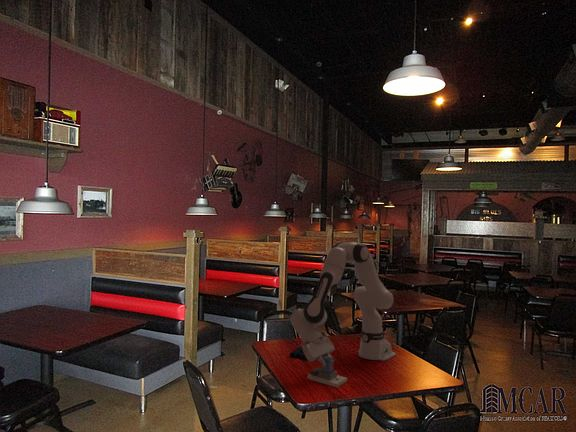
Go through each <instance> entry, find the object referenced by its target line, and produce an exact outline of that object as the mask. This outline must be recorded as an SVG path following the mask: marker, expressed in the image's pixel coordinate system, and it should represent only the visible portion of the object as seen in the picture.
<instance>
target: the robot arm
mask: <svg viewBox="0 0 576 432" xmlns="http://www.w3.org/2000/svg"><path fill="white" fill-rule="evenodd" d="M348 263H349V264H351V263H353V265H354V270H355V273H356V277H357V281H358V282H359V284H361V285H362V286H357V287H356V288H355V289H354V291H353V296H352V297H353V300H354V301H355V302H356V304H357V305H358V307H359V310H360V314H361V319H362V321H361V323H362V325H361V326H362V327H361V328H362V329H361V339H360V344H359V349H358V356H359V357H360V358H363V359H366V360H371V361H387V360H389V359H391V358H393V357H395V356H396V355H397V353H396V352H394V351H393V349H392V344H391V342H389V341H388V339H386V338H385V337H386V336H387V335H388V332H387V331H383V317H382V315H380V314H379V312H378V311H377V309H379V310H387V309H390V308H392V306H393V304H394V301H395V300H394V296H393V295H394V294H393V293H392V292H391V291H390V290H389V289H387V288H386V286H385V285H384V284H383V282H381V280H380V278H379V276H378V272H377V268H376V266H375V262H374V257H373V256H372V254H371V252H370V249H369V247H368V246H367V245H366V244H364V243H361V242H351V241H349V242H337V243H335V244H334V245H333V246H332V248H331V249H330V250H329V251H328V254H327V256H326V258H325V259H324V262H323V265H322V267H321V270H320V271H321V272H320V275H319V279H318V282H317V285H316V288H315V289H314V293H313V295H312V297H311V299H310V300H309V301H308V302H307V303H306V305H305V306H304V307H303V308H297V309H296V310H294V311H293V312H292V313H291V315H290V317H289V321H290V324H291V325H292V327H293V329H294V331H295V332H296V333H297V334H298V335H299V337H300V339H301V341H302V343H301V346H300V347H302V349H303V352H304V354H305V356H306V358H307V360H308V361H307V360H306V361H307V362H309V363H311V362H313V361H316V360H317V361H318V362H319V363H320V364H321V365H322V364H323V366H326V365H327V364H328V363H327V362H326V361H324V360H323V359H322V357H324V356H328V355H331V354H332V353H333V352H334V351H335V346H334V343H333V342H332V341H331V340H330V338H329V337H328V336H327V333H326V332H325V331H324V332H323V331H319V330H317V329H316V328H318V327H320V326H322V325H323V324H325V323H326V322H327V319H328V313H327V310H326V309H325V302H326V299H327V297H328V294H329V292H330V289H331V288H332V287H333V286H334V285H337V284H338V283H339V282H340V280H341V279H342V277H343V274H344V272H345V269H346V264H348Z"/></svg>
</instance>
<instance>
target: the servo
mask: <svg viewBox="0 0 576 432" xmlns="http://www.w3.org/2000/svg"><path fill="white" fill-rule="evenodd" d="M322 359H323V360H324V361H326V362H327V363H328V364H327V365H326V366H323V364H322V363H321V368H322V372H324V373H328V374H331V373H333V370H334V363H335V359H334V357H333V356H332V355H331V354H330V355H328V356H323V357H322Z"/></svg>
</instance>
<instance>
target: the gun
mask: <svg viewBox="0 0 576 432" xmlns="http://www.w3.org/2000/svg"><path fill="white" fill-rule="evenodd" d="M289 354H290V355H289V356H290V358H297V359H300V360H304V361H307V362H309V361H308V360H307V358H306V356H305V354H304V352H303V349H302V347H301V346H298V347H296V348H295V349H294V350H293V351H292V352H290V353H289Z"/></svg>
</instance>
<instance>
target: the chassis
mask: <svg viewBox="0 0 576 432" xmlns="http://www.w3.org/2000/svg"><path fill="white" fill-rule="evenodd" d="M306 378H307V380H311V381H314V382H317V383H321V384H324V385H328V386H330V387H334V388H338V387H341V386H342V385H343V384H344V383H347V382H348V377H345V376H342V375H339V374H338V371H337V370H334V369H333V373H331V374H328V373H324V372H322V367H315V368H313V369H310V373H309V374H307V377H306Z"/></svg>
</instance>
